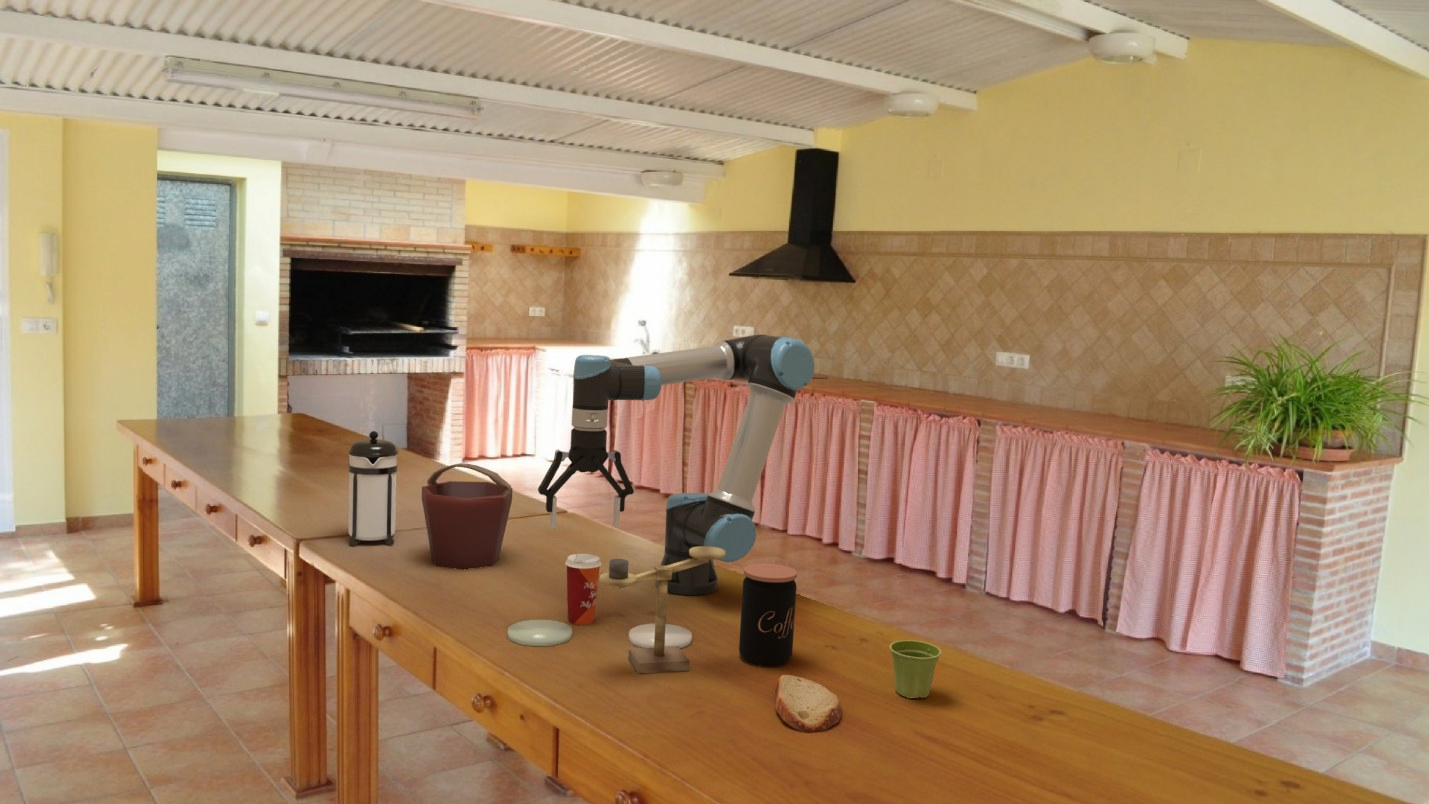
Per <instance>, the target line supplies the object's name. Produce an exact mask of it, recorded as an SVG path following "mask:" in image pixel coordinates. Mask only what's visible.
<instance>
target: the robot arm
mask: <svg viewBox="0 0 1429 804" xmlns="http://www.w3.org/2000/svg"><path fill="white" fill-rule="evenodd" d="M812 354H813V353H812V351H811V349H810V347H809V346H808V345H807V344H806V343H805V342H803V341H802V340H800V339H797V338H794V337H793V338H792V337H789V336H776V335H768V334H754V335H753V334H752V335H751V334H750V335H748V336H747V335H746V336H741V337H737V338H731V339H726V340H719V341H717V342H716V343H715V344H714V345H713V346H706V347H705V346H704V347H698V348H697V347H696V348H690V349H683V350H674V351H667V352H659V353H651V354H644V355H637V356H635V355H634V356H629V357H624V358H623V357H621V358H613V359H611V358H610V357H609V356H606V355H598V354H596V355H595V354H593V355H592V354H581V355H578V356H576V358H575V360H574V366H573V375H572V378H573V379H572V380H573V388H572V390H573V391H572V410H571V412H572V413H571V426H572V427H573V428H572V429H570V430H571V431H570V447H569V451H562V450H560V449H556V450H555V451H554V457H553V460H552V462H551V464H550V467H549V468H548V469H547V471H546V474H545V475H544V477H543V478H542V481H541V483H540V484H539V486H538V488H537V492H538V493H539V495H541V496H545V510H546V512H547V513H550V518H549V526H550V528H551V529H556V525H557V505H558V504H557V501H558V497H557V496H556V494H557V493H558V492H559V490H560V489H561V488H563V487H564V486H565V484H566V483H567V482H568V480H570V479H571V477H572V476H573V475H575V474H576V473H577V472H580V473H588V472H589V473H597V472H598V471H600V473H601V474H602V476H603V477H604V478H605V479H606V481H607V482H608V483H609V485H611V487H612V488H613V489H614V491H615V492H616V495H614V496H613V497H614V498H613V514H612V515H613V517H612V526H613V527H614V528H615V529H620V516H621V515H620V513H621V512H623V513H624V511H625V506H626V505H625V503H626V502H625V501H626V497H627V496H629V495H633V494H634V493H635V490H634V488H633V485H632V483H631V481H630V478H629V477H628V474H627V472H626V470H625V468H624V466H623V463H622V454H621V452H620V451H619V450H616V449H615V450H613V451H607V439H608V438H607V437H608V436H607V435H608V431H607V430H606V428H607V427H608V418H609V417H608V411H609V402H610V401H641V402H643V401H652V400H655V399H657V398H658V397H659V395H660V393H661V390H662V386H667V385H673V384H682V383H687V382H688V383H689V382H694V381H702V380H707V379H708V380H709V379H714V378H719V379H720V380H722V381H732V380H741V381H747V384H746V385H747V388H748V389H749V391H750V394H749V398H748V401H747V403H746V406H745V409H744V412H743V415H742V418H741V420H740V423H739V425H738V428H737V432H736V434H735V437H734V440H733V442H732V446H731V449H730V451H729V454H728V457H727V460H726V463H725V465H724V468H723V472H722V474H721V477H720V480H719V481H718V485H717V488H716V489H715V490H714V491H711V492H709V493H708V492H707V493H706V492H683V493H674V494H671V495H669V497H668V498H667V501H666V502H667V503H666V508H665V513H666V514H665V534H664V535H665V536H664V554H663V557H662V560H661V562H660V565H659V566H667V565H671V564H674V563H677V562H681V561H684V560H687V559H691V558H694V557H692V556H690V555H689V550H690V548H693V547H698V546H710V547H717V548H721V549H723V550H725V551H726V552H725V557H724V558H721V559H715V561H721V562H724V563H734V562H737V561H739V560H740V559H743V558H745V557H746V556H747V555H748V554H749V553H750V552H751V550H752V548H753V547H754V545H755V543H756V539H757V529H756V525H755V522H754V521H753V518H754V516H755V513H756V509H755V507H754V505H753V499H754V496H755V493H756V490H757V487H758V485H759V483H760V482H759V481H760V480H761V479H760V478H761V475H762V474H763V471H764V468H765V464H766V462H767V458H768V456H769V453H770V451H771V447H772V444H773V441H774V438H775V436H776V434H777V430H778V428H779V425H780V422H781V418H782V416H783V412H784V410H785V408H786V406H787V405H788V404H790V403H792V402H794V401H795V398H796V396H797V392H798V391H800V390H801V389H804V388H805V387H807V386H808V384H810V382H811V381H812V379H813V377H814V373H815V359H814V356H813V355H812ZM608 458H609V459H610V461H611V462H612V463H614V466H615V468H616V471H617V473H618V475H619V477H620V479H621V481H622V484H623V486H624V488H622V486H620V484H618V482H617V480H616V479H615V478H614V477H613V476H612V474H611V473H610V472H609V470H607V468H606V467H605V465H604V464H605V463H606V461H607V460H608ZM566 459H569V461H570V462H571V463H570V464H569V465H568V466H566V469H565V470H564V471H563V472H562V473H561V475H560V476H559V477H558V478H557V479H556V480H555V482H554V483H552V481H553V479H554V477H555V475H556V473H557V471H558V470H559V468H560V467H561V463H562V462H564V461H565V460H566ZM551 483H552V485H551V486H550V484H551ZM549 486H550V487H549ZM718 583H719V579H718V574H717V571H716V567H715V563H714V560H709V562H708V563H704V564H701V565H698V566H694V567H691V568H688V569H684V570H681V571H678V572H674V573H672V580H668V587H667V593H668V594H669V593H670V594H675V595H684V596H691V595H692V596H698V595H706V594H711V593H713V592H715V591H716V590H718ZM655 586H656V588H657V579H656V578H655Z"/></svg>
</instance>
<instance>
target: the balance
mask: <svg viewBox="0 0 1429 804" xmlns="http://www.w3.org/2000/svg"><path fill="white" fill-rule="evenodd" d="M725 552H726V551H725V550H723V549H721V548H717V547H710V546H698V547H693V548H690V550H689V555H690V556H692V557H694V558H691V559H687V560H684V561H681V562H677V563H674V564H671V565H667V566H660V565H653V566H654V567H653V569H652V570H646V571H644V572H641V573H638V574H633V573H632V572H631V573H630V572H629V563H630V562H629V560H627V559H623V558H612V559H610V560H609V562H608V572H604V573H602V574H600V575H599V583H600V584H603V585H606V586H610V587H611V586H612V587H618V589H620V590H621V589H623V588H627V587H631V586H633V585H637V584H641V583H644V582H648V581H650V580H654V579H655V580H656V579H657V587H656V601H655V603H656V604H655V623H654V624H655V639H654V648H642V647H638V648H628V661H629V662H630V663H631V665H632V667H633V668H634V669H635V671H636V673H637V674H638V675H639V674H640V673H643V674H656V673H670V672H671V673H672V672H689V671H690V659H689V658H688V657H687V655H686V654H685V653H684V651H683V650H682V648H679V646H672V647H664V646H665V627H666V624H667V623H666V622H667V607H668V605H667V604H668V601H667V600H668V592H667V587H668V580H672V573H674V572H678V571H681V570H684V569H688V568H691V567H694V566H698V565H701V564H704V563H708V562H709V560H713V561H714V560H716V559H721V558H724V557H725ZM640 675H641V674H640Z"/></svg>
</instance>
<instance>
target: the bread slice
mask: <svg viewBox="0 0 1429 804" xmlns="http://www.w3.org/2000/svg"><path fill="white" fill-rule="evenodd" d="M774 694H775V695H774V697H775V698H774V707H775V711H776V713H778V715H779V717H780V719H782V721H783V722H784V723H785V724H787V725H788V726H789V727H791V728H792V729H793V730H796V731H799V732H801V733H805V734H814V733H816V734H817V733H822V732H824V731H825V732H827V731H828V730H829V729H830V728H831V727H833V726H834V725H836V724H838V723H839V722H840V720H841V717H842V712H841V705H840V703H841V702H840V699H839V697H838V696H837V694H835V693H833V692H831V691H830V690H829V689H827V687H826V686H823V685H822V684H820V683H818V682H815V681H813V680H812V679H807V678H805V677H800V676H796V675H791V674H782V675H781V676H780V677H779V678H778V680H777V683H776V687H775V693H774ZM832 725H833V726H832Z"/></svg>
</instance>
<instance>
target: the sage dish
mask: <svg viewBox="0 0 1429 804" xmlns="http://www.w3.org/2000/svg"><path fill="white" fill-rule="evenodd" d="M572 634H573V629H572V627H571V626H570V625H569V624H567V623H564V622H561V621H559V620H553V619H552V620H551V619H529V620H527V619H526V620H523V621H519V622H516V623H513V624H511V625H510V626H509V627H508V629H507V638H508V639H509V641H511V642H513V643H516V644H519V645H522V646H528V647H550V646H552V647H553V646H557V644H558V645H561V644H564V643H566V642H568V641H570V640H571V638H572Z"/></svg>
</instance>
